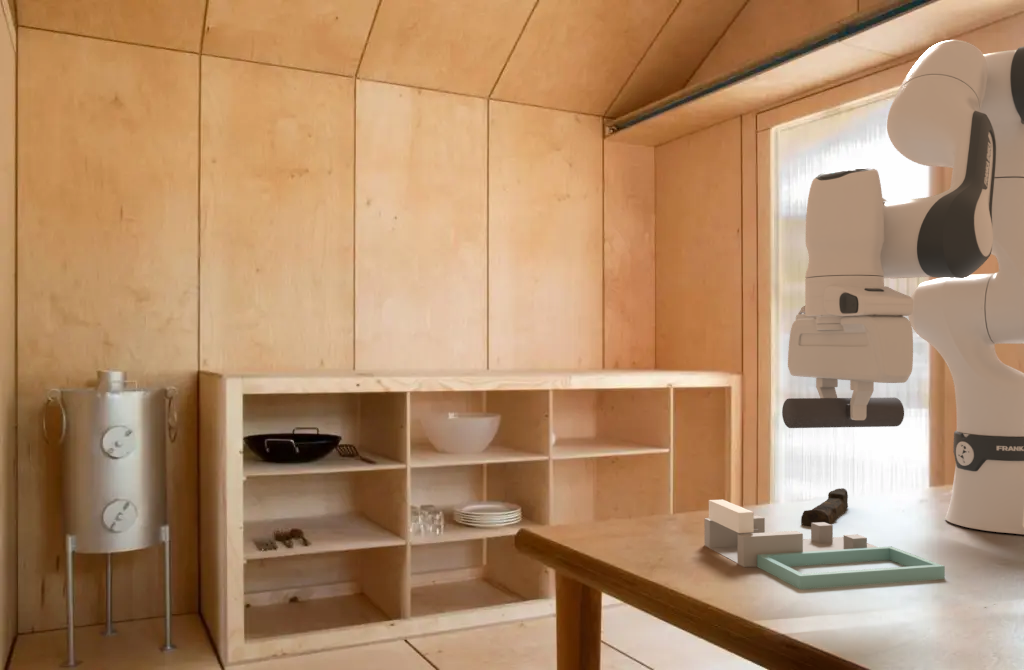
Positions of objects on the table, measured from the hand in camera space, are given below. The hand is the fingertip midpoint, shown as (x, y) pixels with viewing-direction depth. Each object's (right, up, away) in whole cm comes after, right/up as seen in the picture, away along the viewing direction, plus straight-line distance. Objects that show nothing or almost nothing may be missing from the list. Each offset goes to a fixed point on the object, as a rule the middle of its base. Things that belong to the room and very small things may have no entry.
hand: (843, 417), depth 103 cm
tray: (0, -20, 0) cm, 20 cm away
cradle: (-2, -20, +10) cm, 22 cm away
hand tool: (+10, -20, +32) cm, 39 cm away
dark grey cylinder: (0, -1, 0) cm, 1 cm away
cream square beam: (-12, -15, +8) cm, 20 cm away
